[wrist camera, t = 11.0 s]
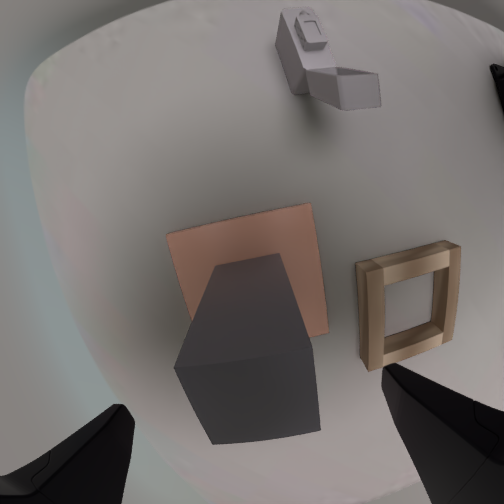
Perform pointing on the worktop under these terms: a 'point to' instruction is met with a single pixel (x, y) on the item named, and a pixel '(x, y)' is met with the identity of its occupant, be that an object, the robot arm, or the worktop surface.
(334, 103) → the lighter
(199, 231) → the tile
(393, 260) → the wooden square frame
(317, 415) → the dark grey block
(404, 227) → the worktop surface
